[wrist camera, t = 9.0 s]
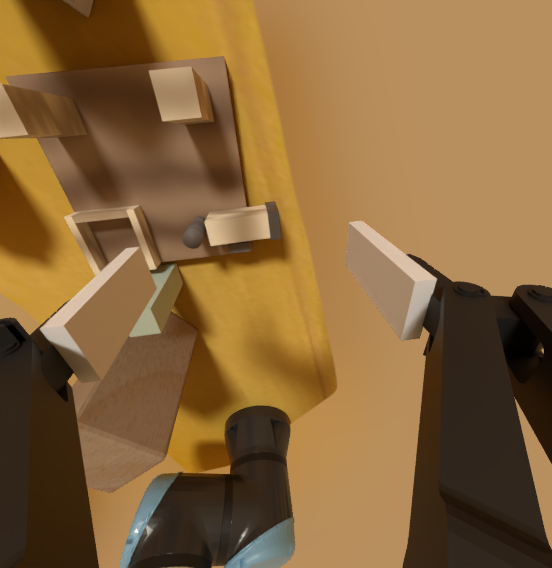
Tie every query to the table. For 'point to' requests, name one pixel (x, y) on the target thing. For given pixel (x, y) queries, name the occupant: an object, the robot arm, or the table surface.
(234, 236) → the hinged leg
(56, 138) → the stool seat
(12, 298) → the table surface
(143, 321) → the leg peg
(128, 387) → the wooden block
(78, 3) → the coffee box
